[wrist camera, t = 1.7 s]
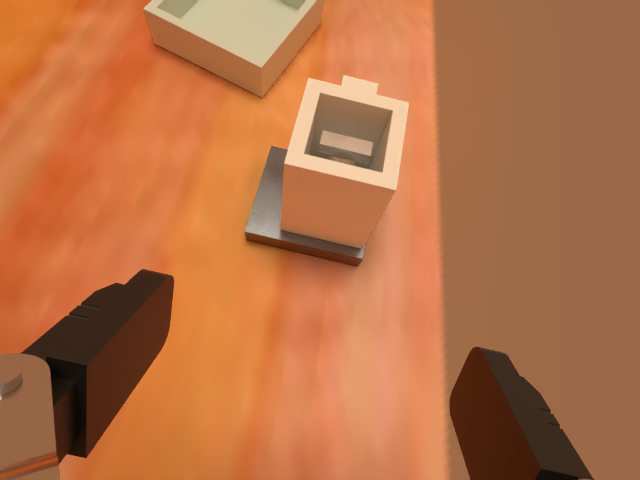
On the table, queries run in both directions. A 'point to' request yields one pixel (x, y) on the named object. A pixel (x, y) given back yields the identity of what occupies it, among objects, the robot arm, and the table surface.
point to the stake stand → (269, 202)
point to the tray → (235, 35)
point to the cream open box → (338, 178)
